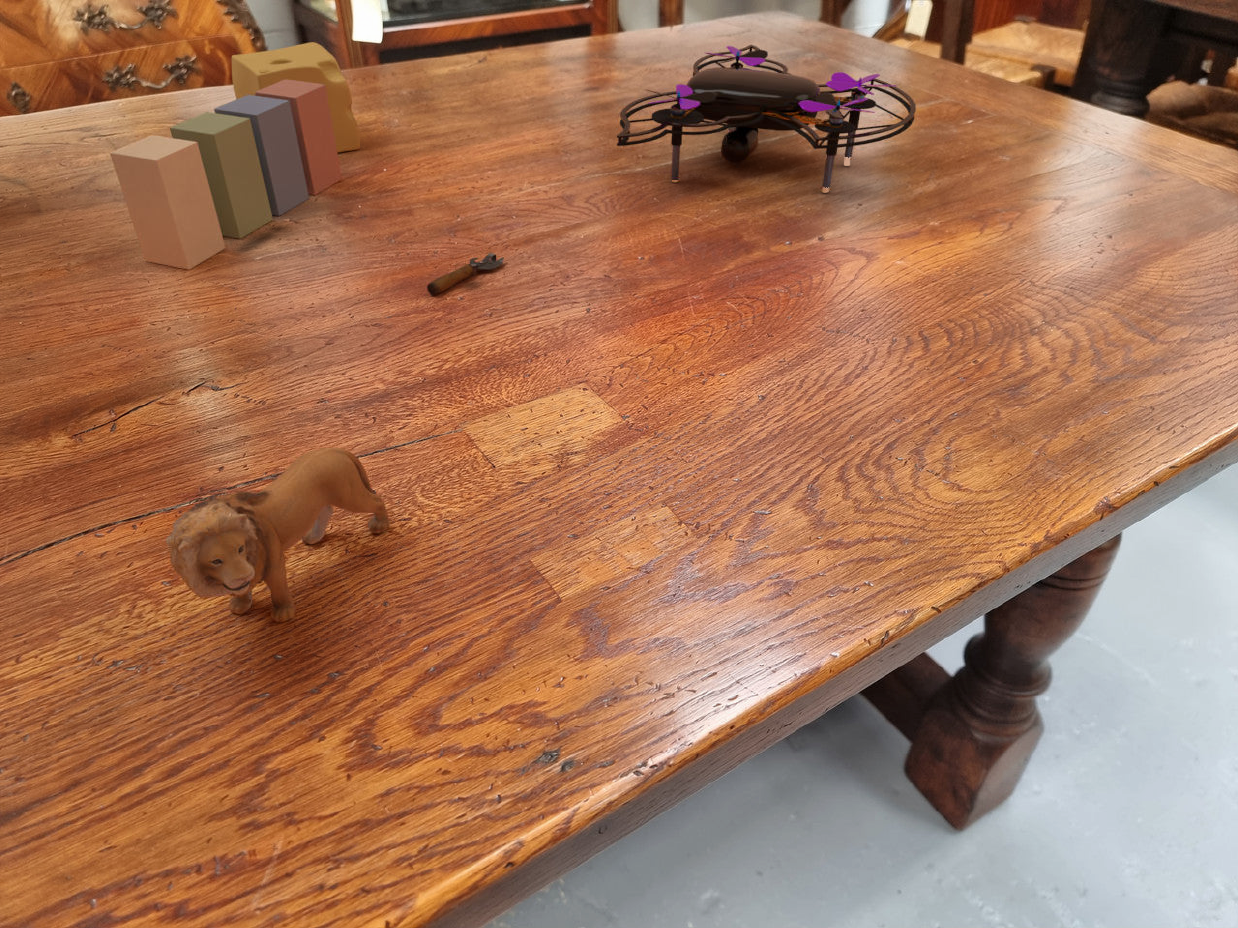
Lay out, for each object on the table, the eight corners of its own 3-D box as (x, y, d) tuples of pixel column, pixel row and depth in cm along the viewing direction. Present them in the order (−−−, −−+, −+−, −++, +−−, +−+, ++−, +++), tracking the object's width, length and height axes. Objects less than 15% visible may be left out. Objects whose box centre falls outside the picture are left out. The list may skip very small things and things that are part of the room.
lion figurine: (265, 683, 47) (220, 553, 41) (178, 656, 48) (123, 526, 42) (409, 506, 58) (389, 385, 52) (335, 488, 59) (308, 367, 53)
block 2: (198, 231, 90) (168, 127, 84) (232, 212, 94) (206, 111, 88) (240, 239, 89) (213, 134, 82) (273, 220, 92) (250, 118, 86)
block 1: (144, 261, 85) (109, 152, 79) (183, 240, 88) (151, 134, 82) (189, 270, 83) (156, 160, 77) (226, 248, 87) (197, 141, 81)
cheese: (363, 150, 109) (349, 60, 103) (272, 167, 104) (251, 74, 98) (331, 126, 115) (316, 40, 109) (244, 141, 111) (223, 52, 105)
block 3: (238, 209, 94) (213, 108, 88) (269, 192, 98) (247, 94, 92) (279, 216, 93) (256, 115, 87) (309, 198, 97) (289, 100, 91)
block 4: (275, 188, 99) (254, 92, 93) (304, 173, 103) (285, 79, 96) (315, 195, 98) (295, 97, 91) (342, 179, 101) (325, 84, 95)
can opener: (435, 298, 79) (433, 285, 79) (417, 289, 81) (416, 277, 80) (511, 264, 85) (510, 252, 84) (493, 256, 86) (492, 245, 85)
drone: (727, 26, 118) (950, 52, 109) (721, 104, 124) (932, 135, 115) (586, 112, 90) (872, 157, 80) (587, 208, 96) (853, 260, 86)
